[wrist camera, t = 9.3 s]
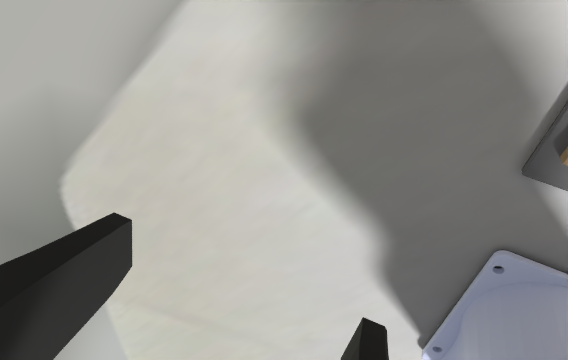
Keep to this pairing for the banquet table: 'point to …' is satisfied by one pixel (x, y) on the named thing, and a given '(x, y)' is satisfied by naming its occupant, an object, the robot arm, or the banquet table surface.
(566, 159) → the lid
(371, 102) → the banquet table surface
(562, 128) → the mat
